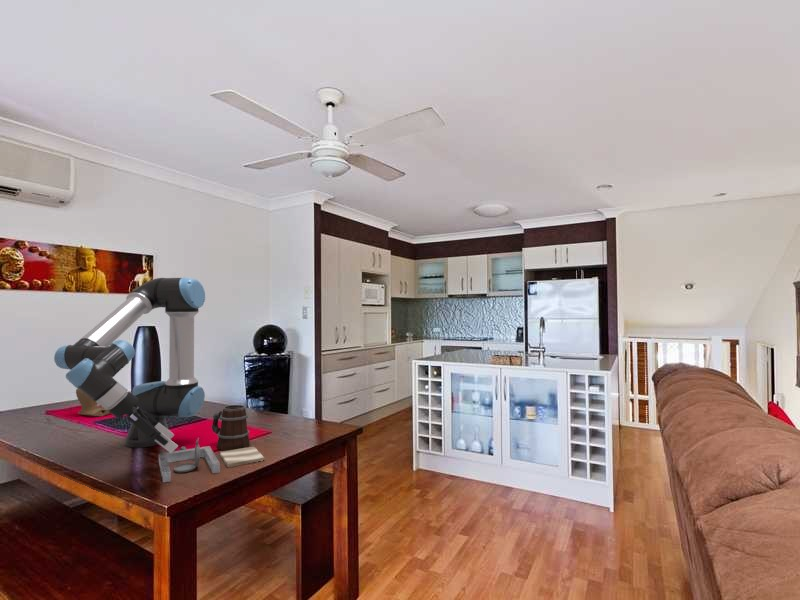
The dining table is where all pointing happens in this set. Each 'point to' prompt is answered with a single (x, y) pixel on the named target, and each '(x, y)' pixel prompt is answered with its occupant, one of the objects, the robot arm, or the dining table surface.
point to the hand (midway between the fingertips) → (172, 443)
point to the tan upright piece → (90, 405)
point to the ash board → (241, 456)
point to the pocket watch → (189, 466)
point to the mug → (231, 428)
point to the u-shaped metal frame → (186, 455)
